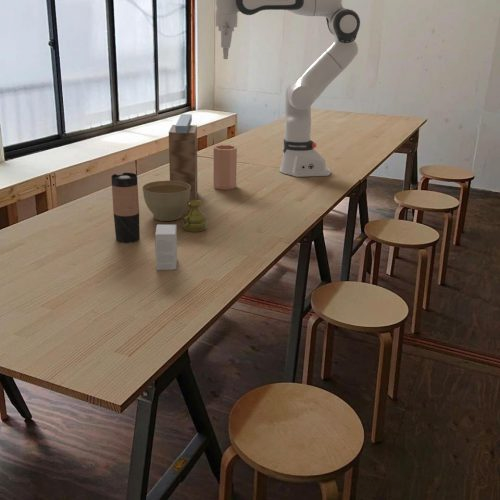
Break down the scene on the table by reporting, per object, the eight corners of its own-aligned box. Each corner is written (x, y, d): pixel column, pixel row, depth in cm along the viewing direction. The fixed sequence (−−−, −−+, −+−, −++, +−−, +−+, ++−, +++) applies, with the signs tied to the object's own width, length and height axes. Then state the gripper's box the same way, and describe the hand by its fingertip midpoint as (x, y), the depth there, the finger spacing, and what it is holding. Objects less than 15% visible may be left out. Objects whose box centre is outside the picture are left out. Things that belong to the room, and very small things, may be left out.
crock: (236, 183, 241) (236, 145, 235) (236, 190, 233) (236, 150, 227) (214, 183, 241) (214, 144, 235) (213, 189, 233) (213, 149, 227)
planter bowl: (198, 213, 206) (198, 183, 202) (178, 227, 192) (178, 195, 188) (157, 207, 211) (156, 177, 207) (134, 221, 197) (133, 189, 193)
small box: (157, 258, 168) (156, 224, 164) (177, 258, 168) (176, 223, 164) (155, 270, 161) (154, 234, 157) (176, 270, 161) (175, 234, 157)
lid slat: (181, 120, 227) (181, 114, 226) (191, 120, 227) (191, 114, 226) (175, 132, 204) (175, 125, 204) (187, 133, 205) (186, 126, 204)
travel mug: (134, 244, 177) (131, 180, 170) (111, 242, 179) (106, 178, 171) (144, 235, 184) (141, 173, 177) (121, 233, 186) (117, 171, 178)
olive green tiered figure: (197, 234, 187) (197, 204, 183) (178, 229, 190) (178, 199, 187) (210, 227, 193) (210, 198, 189) (192, 223, 196) (192, 194, 192)
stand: (197, 192, 228) (196, 125, 219) (195, 203, 215) (194, 132, 206) (174, 192, 228) (172, 124, 218) (170, 203, 215) (168, 132, 205)
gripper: (234, 23, 228) (233, 60, 233) (234, 21, 247) (233, 56, 252) (217, 22, 228) (217, 60, 233) (219, 21, 247) (218, 56, 252)
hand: (225, 58), depth 243 cm, fingers open, 8 cm apart
